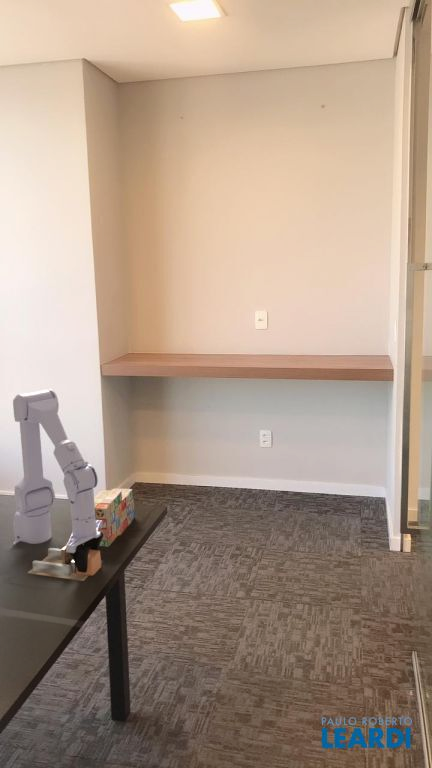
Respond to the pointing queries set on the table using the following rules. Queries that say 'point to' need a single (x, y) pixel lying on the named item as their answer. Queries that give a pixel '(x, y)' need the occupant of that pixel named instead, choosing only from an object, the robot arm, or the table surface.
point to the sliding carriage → (68, 559)
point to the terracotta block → (92, 563)
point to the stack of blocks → (114, 512)
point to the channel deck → (55, 567)
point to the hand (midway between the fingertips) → (87, 566)
